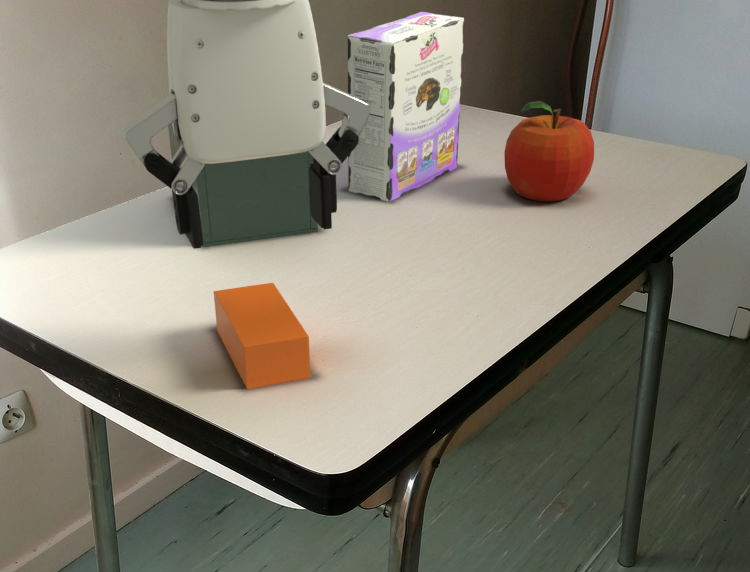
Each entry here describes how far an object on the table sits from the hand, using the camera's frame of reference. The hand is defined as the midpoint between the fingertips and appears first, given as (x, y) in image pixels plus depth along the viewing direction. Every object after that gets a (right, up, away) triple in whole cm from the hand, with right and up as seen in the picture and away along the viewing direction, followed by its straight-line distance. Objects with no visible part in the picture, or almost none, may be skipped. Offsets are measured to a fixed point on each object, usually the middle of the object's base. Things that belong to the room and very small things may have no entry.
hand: (258, 232), depth 74 cm
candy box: (+12, +16, +39) cm, 44 cm away
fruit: (+27, +13, +36) cm, 47 cm away
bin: (-5, +9, +30) cm, 32 cm away
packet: (0, -8, +6) cm, 11 cm away
